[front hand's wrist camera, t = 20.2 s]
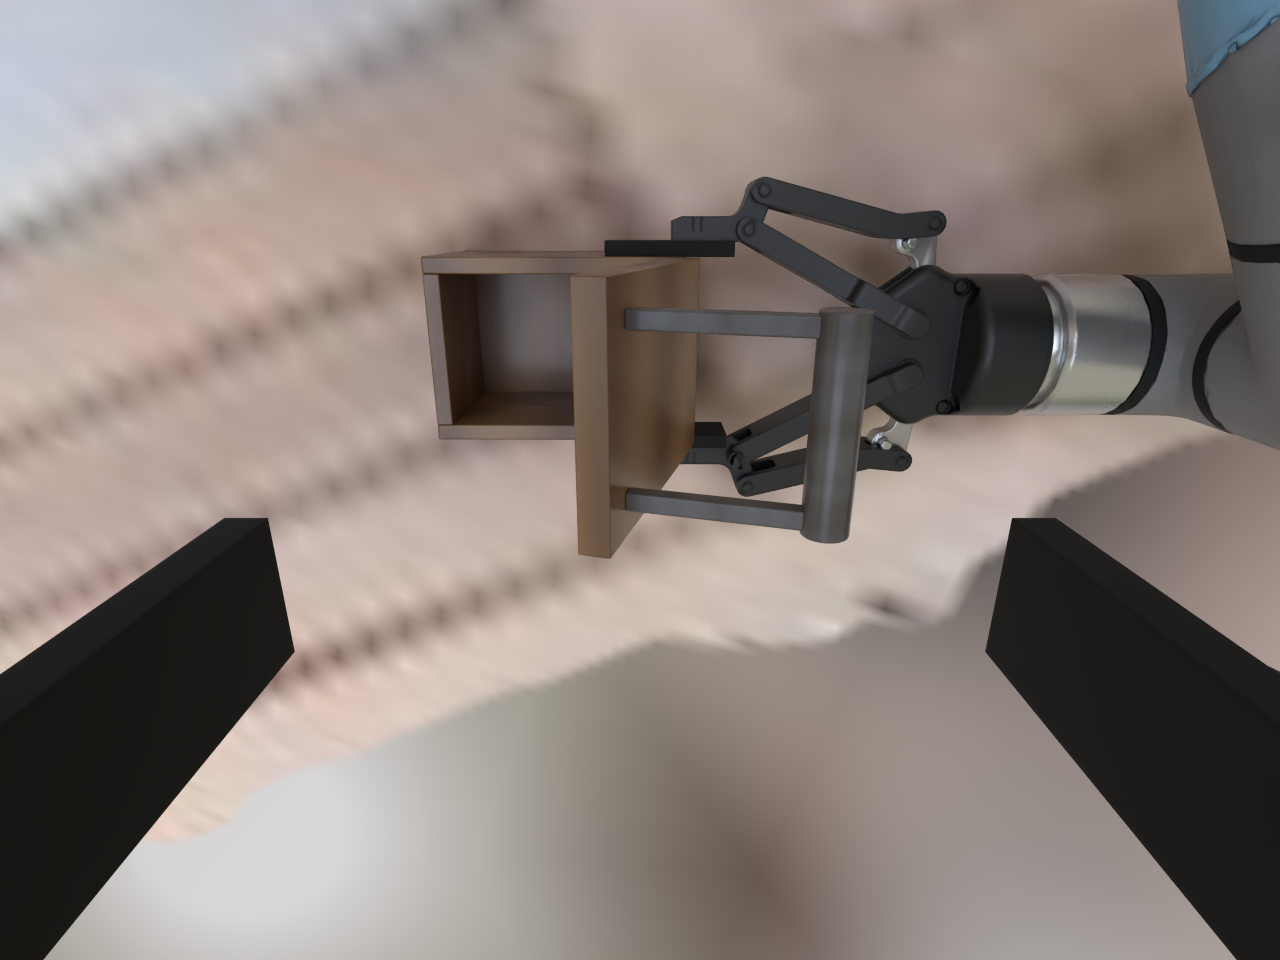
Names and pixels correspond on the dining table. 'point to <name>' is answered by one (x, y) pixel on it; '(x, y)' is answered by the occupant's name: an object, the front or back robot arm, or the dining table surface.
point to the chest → (506, 340)
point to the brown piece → (665, 403)
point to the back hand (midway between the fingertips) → (607, 345)
